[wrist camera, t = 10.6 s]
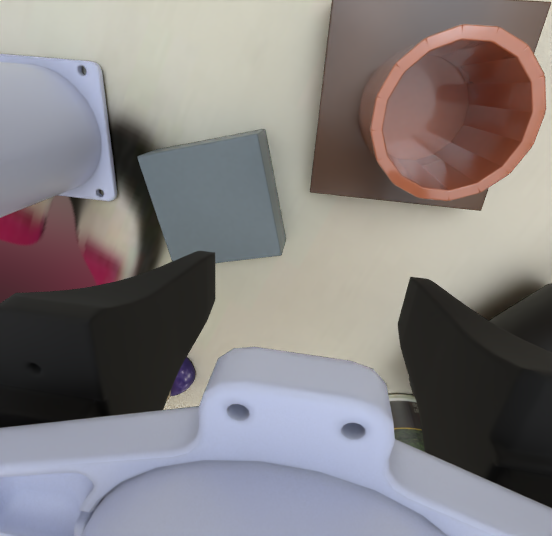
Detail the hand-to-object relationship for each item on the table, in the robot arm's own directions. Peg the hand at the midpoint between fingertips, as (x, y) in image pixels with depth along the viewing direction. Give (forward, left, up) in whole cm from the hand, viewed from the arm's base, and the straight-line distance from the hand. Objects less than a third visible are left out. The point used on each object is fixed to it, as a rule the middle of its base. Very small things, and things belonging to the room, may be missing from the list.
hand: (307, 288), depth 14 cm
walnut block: (+4, +6, -10) cm, 13 cm away
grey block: (-6, 0, -10) cm, 12 cm away
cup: (+4, +6, -8) cm, 11 cm away
